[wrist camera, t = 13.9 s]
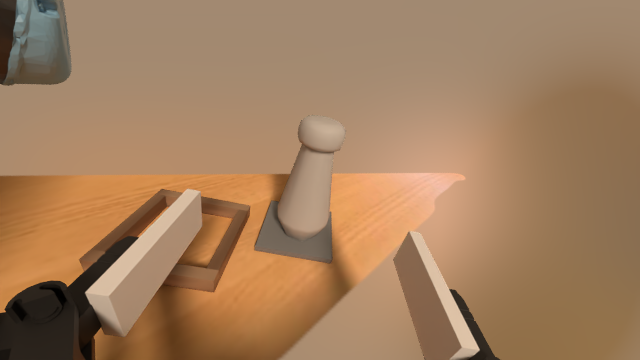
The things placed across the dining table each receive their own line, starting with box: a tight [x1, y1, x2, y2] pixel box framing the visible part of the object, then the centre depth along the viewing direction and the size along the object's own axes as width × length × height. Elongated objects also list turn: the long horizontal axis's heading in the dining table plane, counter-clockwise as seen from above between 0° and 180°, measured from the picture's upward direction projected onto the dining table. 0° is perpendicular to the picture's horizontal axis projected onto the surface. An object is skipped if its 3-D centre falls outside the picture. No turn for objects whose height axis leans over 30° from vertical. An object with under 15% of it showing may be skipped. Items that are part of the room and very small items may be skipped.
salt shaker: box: [278, 115, 346, 241], centre depth 24 cm, size 6×6×13 cm
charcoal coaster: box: [255, 201, 332, 263], centre depth 27 cm, size 8×8×1 cm
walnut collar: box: [79, 189, 250, 292], centre depth 22 cm, size 10×10×2 cm
